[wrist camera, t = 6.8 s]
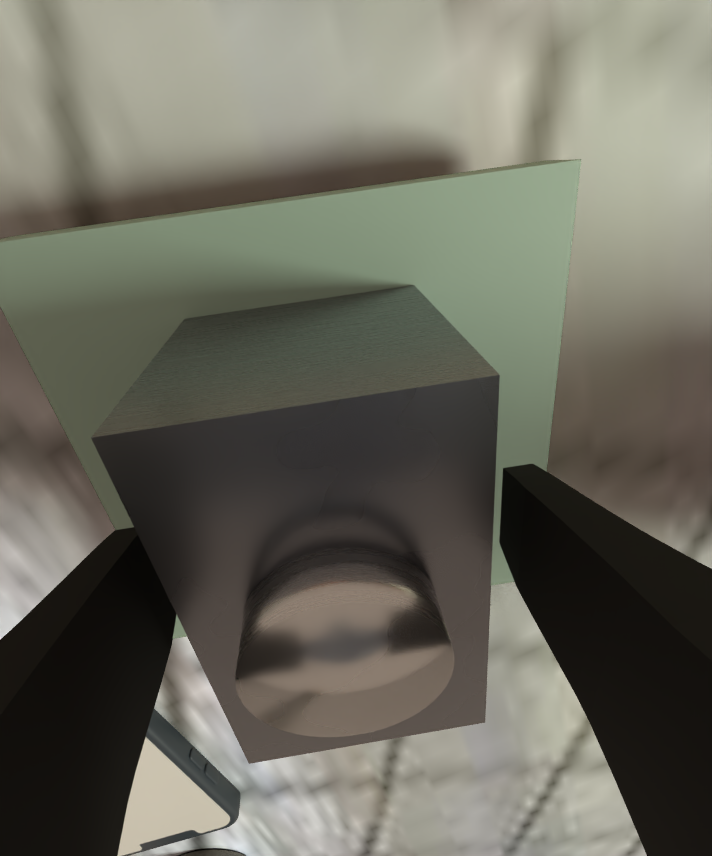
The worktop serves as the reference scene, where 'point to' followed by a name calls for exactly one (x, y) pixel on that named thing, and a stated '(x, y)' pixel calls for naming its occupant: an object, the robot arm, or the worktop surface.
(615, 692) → the robot arm
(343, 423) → the housing
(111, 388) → the stand
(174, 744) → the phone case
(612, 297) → the worktop surface
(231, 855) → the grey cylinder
